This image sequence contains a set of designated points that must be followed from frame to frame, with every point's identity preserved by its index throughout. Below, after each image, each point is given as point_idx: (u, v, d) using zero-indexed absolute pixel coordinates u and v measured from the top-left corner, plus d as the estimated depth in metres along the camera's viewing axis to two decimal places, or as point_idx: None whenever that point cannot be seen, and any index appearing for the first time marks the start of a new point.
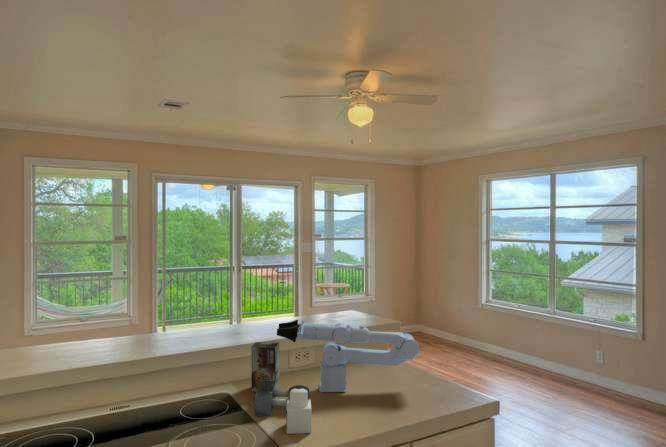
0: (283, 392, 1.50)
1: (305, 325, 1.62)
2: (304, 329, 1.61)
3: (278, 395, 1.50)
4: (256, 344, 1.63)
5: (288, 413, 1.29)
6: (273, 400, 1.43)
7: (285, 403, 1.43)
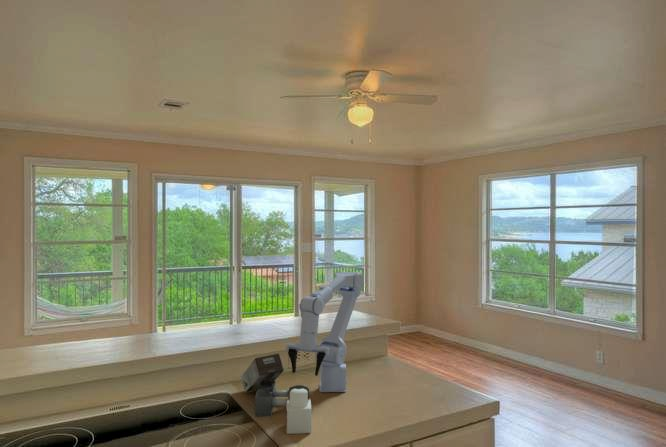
0: (283, 392, 1.50)
1: (311, 345, 1.50)
2: (314, 345, 1.51)
3: (278, 395, 1.50)
4: (261, 366, 1.51)
5: (288, 413, 1.29)
6: (273, 400, 1.43)
7: (285, 403, 1.43)
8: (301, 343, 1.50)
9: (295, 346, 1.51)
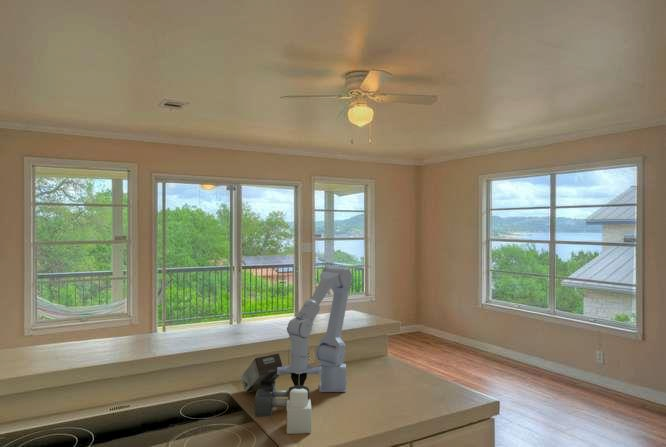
0: (282, 392, 1.50)
1: (303, 368, 1.49)
2: (306, 367, 1.50)
3: (277, 395, 1.50)
4: (261, 366, 1.51)
5: (288, 413, 1.29)
6: (273, 400, 1.43)
7: (285, 403, 1.43)
8: (293, 367, 1.49)
9: (287, 371, 1.49)
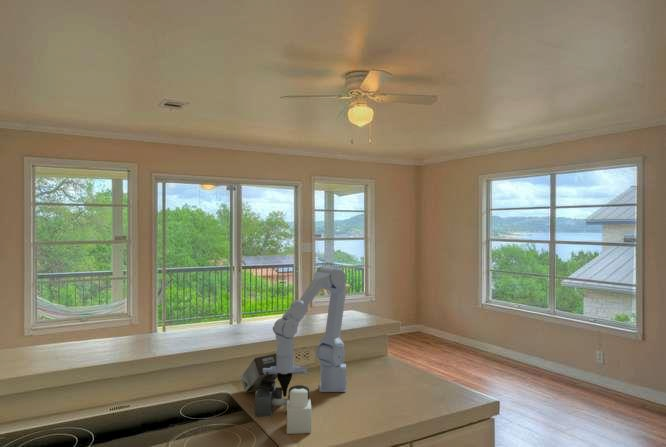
0: None
1: (288, 368, 1.48)
2: (292, 367, 1.50)
3: None
4: (260, 365, 1.51)
5: (288, 413, 1.29)
6: (273, 400, 1.43)
7: (285, 403, 1.43)
8: (278, 367, 1.49)
9: (272, 371, 1.49)
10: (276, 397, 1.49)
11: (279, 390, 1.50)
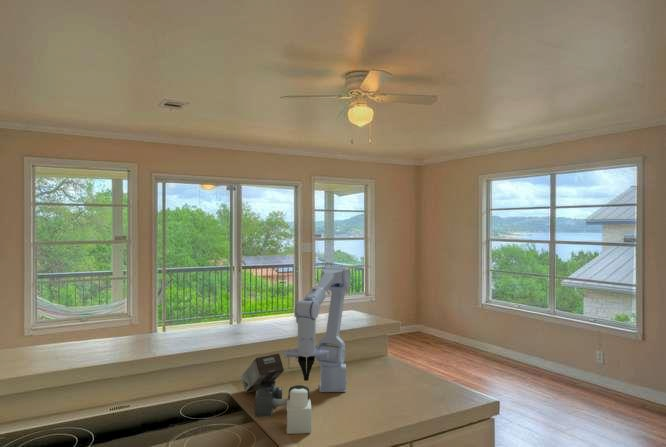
0: None
1: (310, 351, 1.43)
2: (314, 351, 1.45)
3: None
4: (261, 366, 1.51)
5: (288, 413, 1.29)
6: (273, 400, 1.43)
7: (285, 403, 1.43)
8: (300, 350, 1.44)
9: (294, 354, 1.44)
10: (276, 397, 1.49)
11: (279, 390, 1.50)
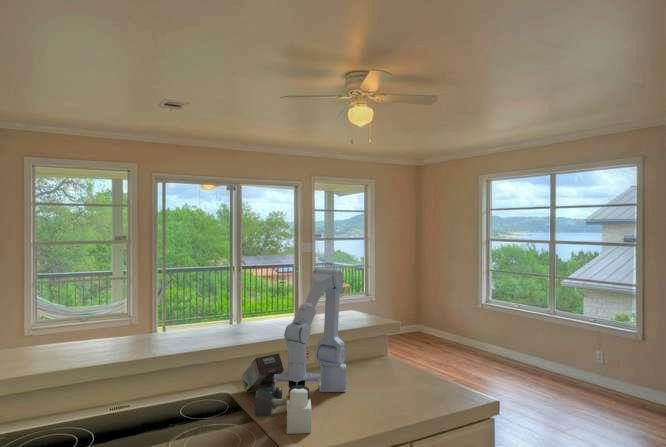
0: None
1: (301, 375, 1.42)
2: (304, 375, 1.43)
3: None
4: (261, 365, 1.51)
5: (288, 413, 1.29)
6: None
7: (283, 403, 1.43)
8: (290, 374, 1.42)
9: (284, 378, 1.42)
10: (276, 397, 1.49)
11: (279, 390, 1.50)
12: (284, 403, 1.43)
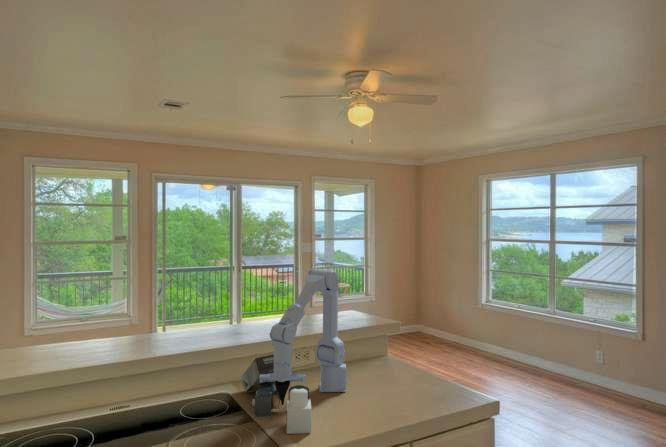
0: None
1: (286, 375, 1.41)
2: (290, 375, 1.43)
3: None
4: (261, 365, 1.51)
5: (288, 413, 1.29)
6: None
7: None
8: (276, 375, 1.42)
9: (270, 378, 1.42)
10: None
11: None
12: None
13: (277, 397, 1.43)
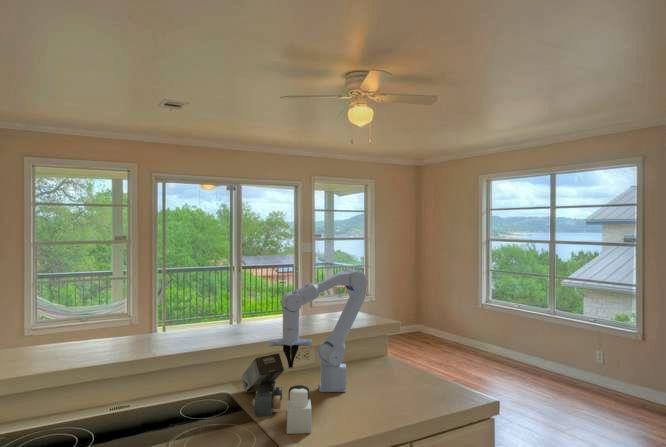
0: None
1: (294, 340, 1.55)
2: (298, 340, 1.56)
3: None
4: (261, 365, 1.51)
5: (288, 413, 1.29)
6: None
7: None
8: (285, 339, 1.55)
9: (279, 343, 1.55)
10: None
11: (279, 390, 1.50)
12: None
13: (278, 397, 1.43)
